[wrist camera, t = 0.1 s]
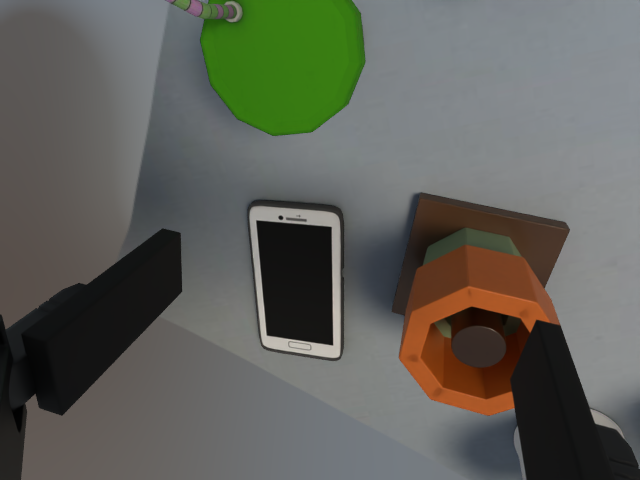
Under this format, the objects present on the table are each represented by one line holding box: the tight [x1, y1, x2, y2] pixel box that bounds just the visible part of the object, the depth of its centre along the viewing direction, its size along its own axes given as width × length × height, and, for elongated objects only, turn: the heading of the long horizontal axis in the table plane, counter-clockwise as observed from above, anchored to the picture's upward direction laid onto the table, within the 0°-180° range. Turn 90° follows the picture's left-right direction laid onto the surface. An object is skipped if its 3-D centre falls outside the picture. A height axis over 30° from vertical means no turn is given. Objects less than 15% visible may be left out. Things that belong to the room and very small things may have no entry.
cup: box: [166, 0, 365, 136], centre depth 23 cm, size 8×8×15 cm
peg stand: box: [392, 193, 570, 368], centre depth 30 cm, size 10×10×10 cm
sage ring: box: [423, 228, 522, 338], centre depth 31 cm, size 7×7×4 cm
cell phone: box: [248, 200, 344, 361], centre depth 38 cm, size 8×15×1 cm, turn 1°
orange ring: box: [399, 245, 568, 416], centre depth 27 cm, size 8×8×5 cm
